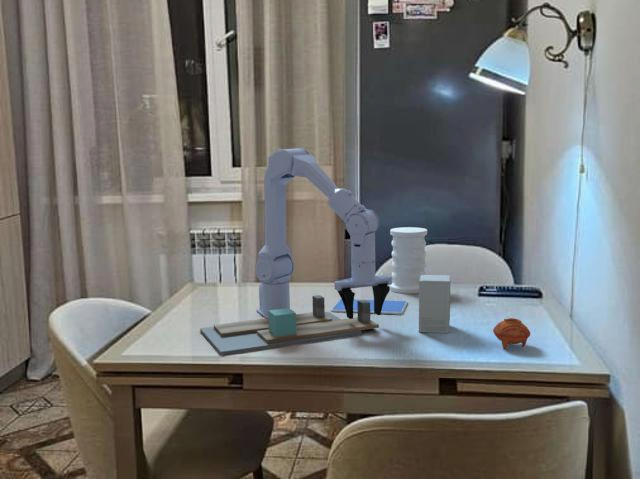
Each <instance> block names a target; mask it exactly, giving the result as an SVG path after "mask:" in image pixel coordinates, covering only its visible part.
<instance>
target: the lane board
mask: <svg viewBox="0 0 640 479" xmlns="http://www.w3.org/2000/svg"><path fill="white" fill-rule="evenodd" d="M325 315H327V316H328V317H330V318H332V321H334V320H342V319H341V318H340V317H338V316H336V315H335V314H333V313H332V312H331V311H325ZM199 330H200V331H199V332H200V333H201V334H202V335H203V336H204V337H205V339H207V341H208V343H210V344H211V346H212V347H213V348H214V349H215V350H216V351H217V353H218V354H219V355H220V356H226V355H234V354H241V353H247V352H254V351H262V350H269V349H274V348H281V347H288V346H294V345H302V344H310V343H317V342H323V341H329V340H337V339H343V338H350V337H358V336H362V335H363V331H362V330H360V331H353V332H346V333H339V334H331V335H324V336H317V337H310V338H303V339H296V340H289V341H282V342H275V343H266V342H265V341H264V340H263V339H262V338H261V337H260V336H258V335H257V332H255V333H248V334H240V335H233V336H226V337H222V336H221V335H220V334H219V333H218V332H217V331H216V330H215V329H214V326H209V327H200V328H199Z"/></svg>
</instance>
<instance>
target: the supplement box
mask: <svg viewBox="0 0 640 479" xmlns="http://www.w3.org/2000/svg"><path fill="white" fill-rule="evenodd" d="M450 322H451V275H449V274H448V275H447V274H442V275H441V274H426V275H421V276H420V280H419V293H418V332H419V333H432V334H434V333H435V334H450V324H451V323H450Z"/></svg>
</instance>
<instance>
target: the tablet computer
mask: <svg viewBox="0 0 640 479" xmlns="http://www.w3.org/2000/svg"><path fill="white" fill-rule="evenodd" d="M358 300H359V299H356V298H354V302H353V314H358V309H357V301H358ZM365 300H366V301H368V302H370V315H373V314H374V315H376V314H375V313H374V299H365ZM408 304H409V303H408V301H406V300H386V299H385V300H384V303H383V306H382V310H381V315H395V316H396V315H397V316H402V315H403V314H404V312H405V310H406V308H407V306H408ZM330 313H345V314H346V310H345V307H344V304H343V301H342V299H341V298H340V299H339V300H338V301H337V302H336V303H335V304H334V305H333V306H332V307H331V309H330Z"/></svg>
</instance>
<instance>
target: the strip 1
mask: <svg viewBox="0 0 640 479" xmlns="http://www.w3.org/2000/svg"><path fill="white" fill-rule="evenodd" d="M325 312H326V311H325V297H324V296H322V295H321V294H316V295H312V312H305V313H296V326H297V325H305V324H312V323H319V322H327V321H332V318H330V317H328V316H327V315H325ZM213 327H214V329H215V330H216V331H217V332H218V333H219V334H220V335H221V336H222V337H226V336H233V335H240V334H248V333H255V332H257V331H260V330H267V329H269V318H265V317H264V318H259V319H258V318H257V319H252V320H251V319H250V320H243V321H241V320H240V321H236V322H235V321H234V322H226V323H219V324H213Z"/></svg>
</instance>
